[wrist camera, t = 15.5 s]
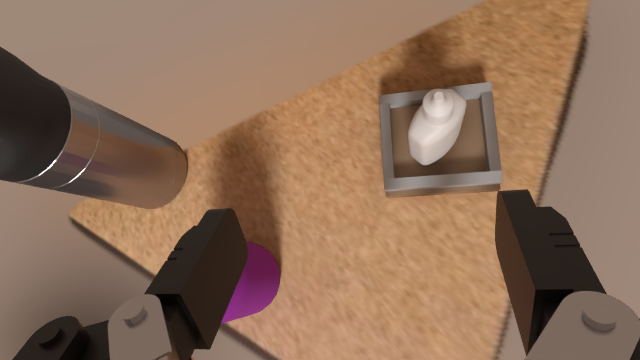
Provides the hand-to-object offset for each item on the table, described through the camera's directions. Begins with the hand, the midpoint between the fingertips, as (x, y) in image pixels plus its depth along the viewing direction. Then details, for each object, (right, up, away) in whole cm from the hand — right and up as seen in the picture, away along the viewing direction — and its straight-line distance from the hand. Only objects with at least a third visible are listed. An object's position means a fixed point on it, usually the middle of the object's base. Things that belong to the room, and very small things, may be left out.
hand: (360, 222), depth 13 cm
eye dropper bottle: (+11, +5, +30) cm, 32 cm away
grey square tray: (+11, +5, +31) cm, 33 cm away
